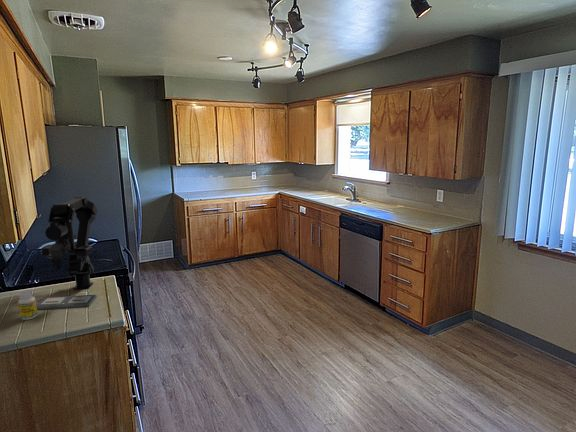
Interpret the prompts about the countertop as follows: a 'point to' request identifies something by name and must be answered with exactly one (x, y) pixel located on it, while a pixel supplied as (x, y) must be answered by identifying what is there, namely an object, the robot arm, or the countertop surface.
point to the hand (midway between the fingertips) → (69, 270)
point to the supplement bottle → (27, 305)
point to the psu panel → (66, 302)
